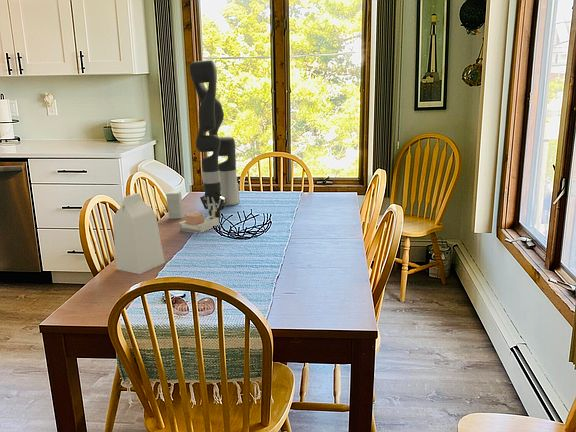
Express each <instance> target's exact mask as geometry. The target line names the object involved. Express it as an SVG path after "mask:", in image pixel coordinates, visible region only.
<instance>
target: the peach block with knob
mask: <svg viewBox="0 0 576 432" xmlns="http://www.w3.org/2000/svg"><path fill="white" fill-rule="evenodd" d="M211 212H212V215H211V216H209V215H208V216H206V217H205V214H204V213H201V212H193V211H192V212H190V213H187V214H184V219H185V220H186V224H189V225H196V226H197V225H199V224H201V223H204V220H210V218H211V217H212V219H214V218H216V217H215V212H216V211H215V209H213V210H211ZM185 220H184V221H185Z"/></svg>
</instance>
